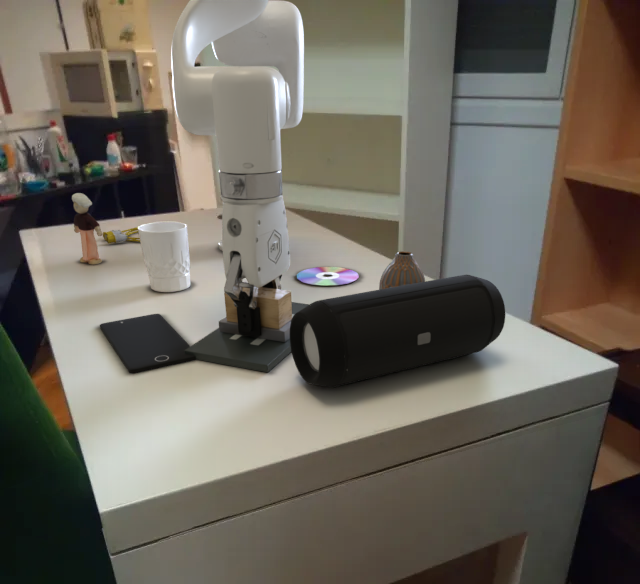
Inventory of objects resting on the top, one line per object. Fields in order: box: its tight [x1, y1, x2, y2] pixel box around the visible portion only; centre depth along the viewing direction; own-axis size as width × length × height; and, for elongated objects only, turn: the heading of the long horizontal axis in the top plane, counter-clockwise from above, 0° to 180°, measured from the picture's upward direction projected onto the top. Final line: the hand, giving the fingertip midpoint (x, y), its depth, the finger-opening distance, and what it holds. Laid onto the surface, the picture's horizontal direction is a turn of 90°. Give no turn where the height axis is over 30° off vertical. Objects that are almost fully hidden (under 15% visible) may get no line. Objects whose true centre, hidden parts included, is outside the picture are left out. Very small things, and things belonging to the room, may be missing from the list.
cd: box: [296, 266, 360, 287], centre depth 106 cm, size 11×11×1 cm
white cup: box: [137, 220, 192, 293], centre depth 99 cm, size 8×8×10 cm
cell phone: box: [99, 313, 197, 375], centre depth 81 cm, size 9×18×1 cm, turn 29°
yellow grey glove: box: [102, 226, 141, 244], centre depth 132 cm, size 12×16×2 cm
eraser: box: [218, 287, 293, 342], centre depth 80 cm, size 10×5×6 cm, turn 67°
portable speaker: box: [290, 274, 506, 388], centre depth 71 cm, size 26×10×10 cm, turn 117°
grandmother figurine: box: [71, 192, 103, 266], centre depth 112 cm, size 8×4×13 cm, turn 68°
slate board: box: [185, 301, 311, 373], centre depth 83 cm, size 22×12×1 cm, turn 157°
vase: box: [378, 250, 426, 290], centre depth 88 cm, size 7×7×9 cm
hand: (260, 326), depth 81 cm, fingers closed on eraser, 5 cm apart
